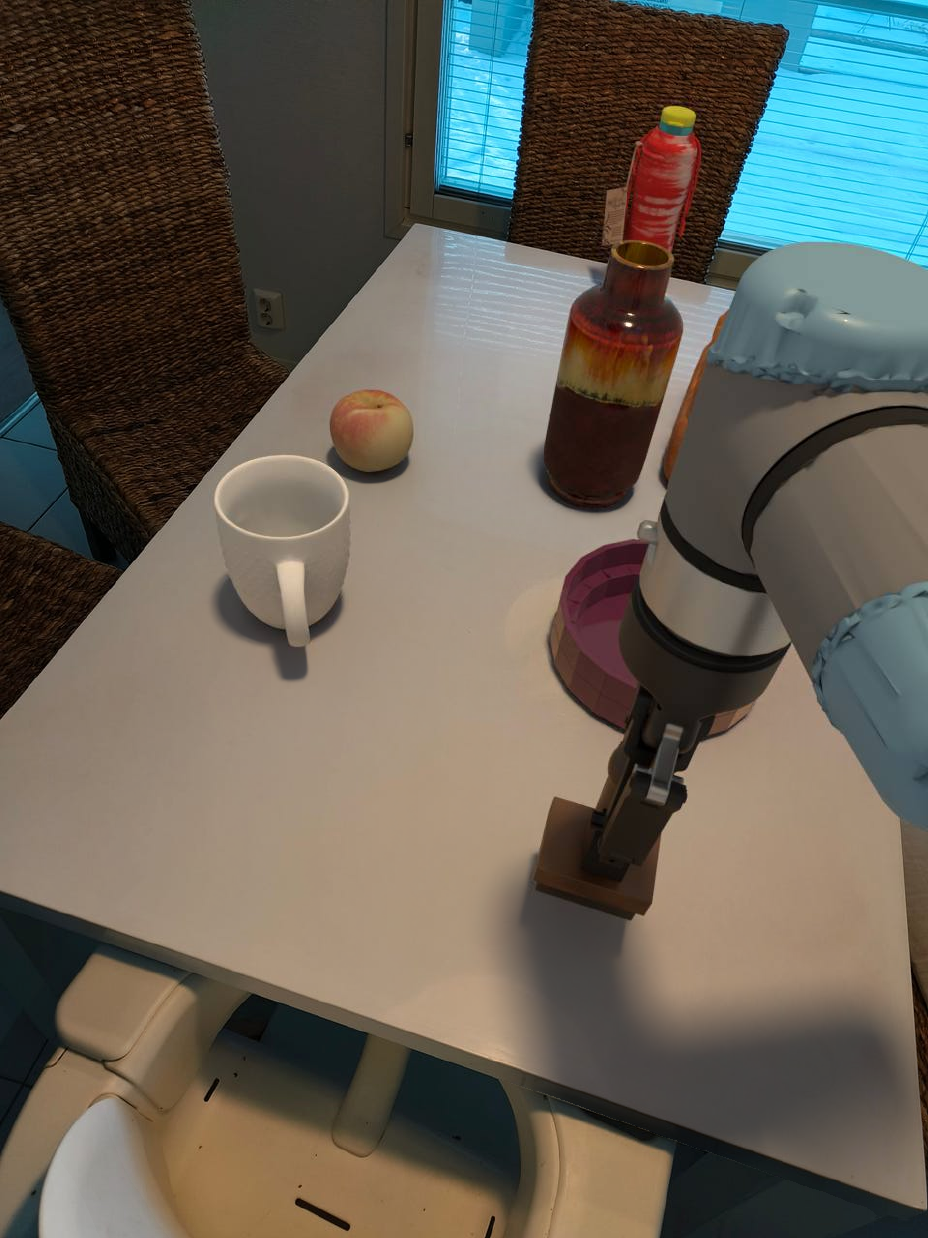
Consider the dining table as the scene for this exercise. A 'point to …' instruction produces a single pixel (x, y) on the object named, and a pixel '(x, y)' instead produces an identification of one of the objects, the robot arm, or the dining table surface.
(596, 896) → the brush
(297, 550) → the mug
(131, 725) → the dining table surface
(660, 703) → the robot arm
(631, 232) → the water bottle
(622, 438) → the vase
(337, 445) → the yellow-red round fruit
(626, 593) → the bowl
